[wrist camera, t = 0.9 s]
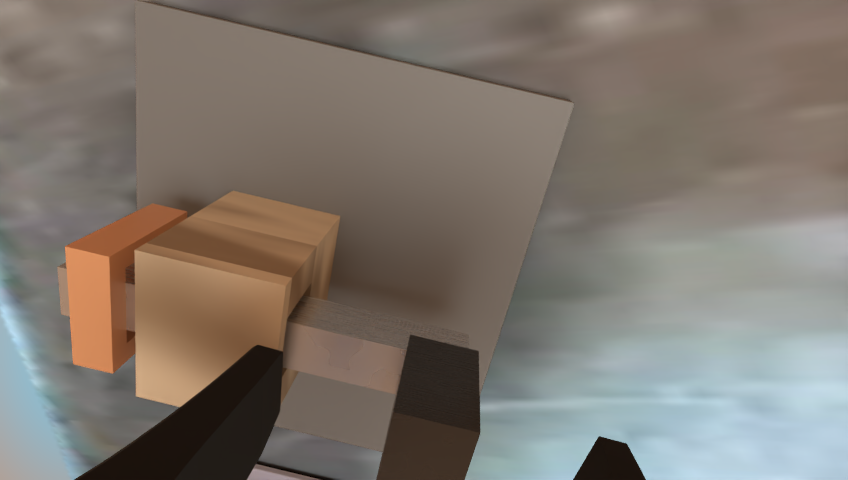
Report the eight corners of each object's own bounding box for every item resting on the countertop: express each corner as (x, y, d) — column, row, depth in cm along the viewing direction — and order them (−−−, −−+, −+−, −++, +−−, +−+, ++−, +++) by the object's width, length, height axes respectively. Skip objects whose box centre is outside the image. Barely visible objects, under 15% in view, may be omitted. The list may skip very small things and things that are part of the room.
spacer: (184, 308, 23) (113, 373, 18) (152, 301, 23) (73, 363, 18) (187, 211, 21) (109, 256, 16) (152, 203, 21) (65, 246, 16)
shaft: (459, 386, 20) (454, 507, 15) (99, 300, 20) (-33, 390, 15) (478, 325, 19) (480, 433, 14) (96, 234, 19) (-48, 306, 14)
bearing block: (322, 327, 25) (268, 427, 18) (224, 303, 25) (135, 396, 18) (340, 216, 22) (285, 286, 16) (233, 190, 22) (134, 249, 16)
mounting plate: (456, 455, 28) (455, 469, 27) (149, 381, 28) (138, 393, 27) (569, 100, 21) (574, 103, 20) (150, 2, 21) (135, 0, 20)
